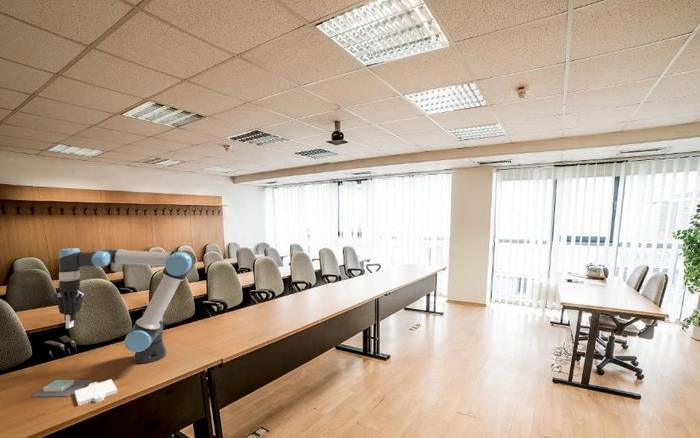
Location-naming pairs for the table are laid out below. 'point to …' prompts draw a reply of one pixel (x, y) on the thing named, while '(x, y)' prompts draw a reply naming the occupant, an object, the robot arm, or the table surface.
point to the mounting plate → (95, 392)
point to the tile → (58, 385)
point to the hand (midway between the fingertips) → (69, 327)
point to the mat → (67, 392)
